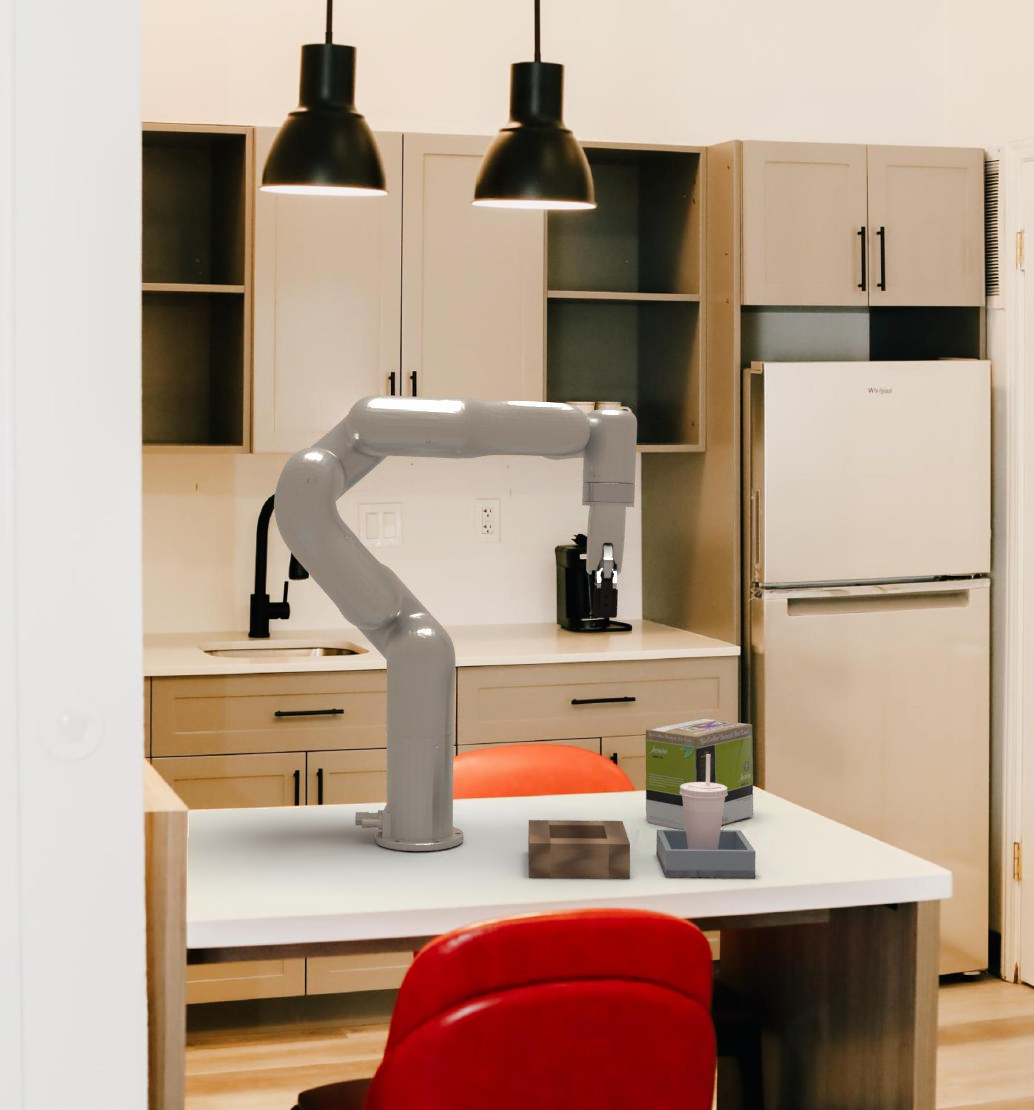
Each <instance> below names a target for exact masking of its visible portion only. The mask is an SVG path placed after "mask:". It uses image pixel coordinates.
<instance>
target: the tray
mask: <svg viewBox="0 0 1034 1110" xmlns="http://www.w3.org/2000/svg"><path fill="white" fill-rule="evenodd" d="M655 848H656V851H655V852H656V857H657V860H658V862H659V865H660V867H661V869H662V872H663V874H664V876H665V878H671V877H710V878H709V879H755V878H756V850H755V849H754V847H753V845H752V844H751V843H750V841H749V840H748V838H747V837H746V836H745V835H744V833H743V832H742V830H741V829H721V831H720V838H719V845H718V850H703V849H688V845H687V836H686V830H680V829H656V847H655ZM714 877H716V878H714ZM719 877H721V878H719Z"/></svg>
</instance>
